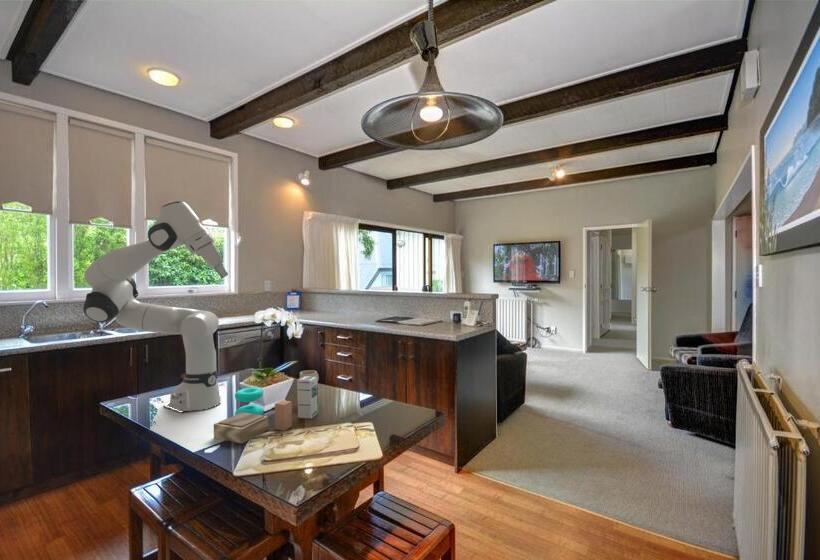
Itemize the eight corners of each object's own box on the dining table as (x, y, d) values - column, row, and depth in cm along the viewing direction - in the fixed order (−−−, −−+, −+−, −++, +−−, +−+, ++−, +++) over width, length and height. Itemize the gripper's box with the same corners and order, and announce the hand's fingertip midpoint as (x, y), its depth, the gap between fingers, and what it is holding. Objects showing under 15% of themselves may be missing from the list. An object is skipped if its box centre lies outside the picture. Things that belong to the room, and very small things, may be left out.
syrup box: (311, 418, 143) (311, 380, 143) (297, 417, 144) (297, 379, 144) (318, 413, 149) (318, 376, 149) (304, 412, 150) (304, 375, 150)
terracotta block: (275, 429, 133) (274, 403, 133) (282, 425, 137) (282, 400, 137) (284, 430, 132) (284, 404, 132) (291, 426, 136) (291, 401, 136)
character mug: (312, 397, 168) (312, 368, 168) (324, 400, 164) (323, 370, 164) (292, 404, 159) (292, 373, 159) (303, 408, 155) (303, 376, 155)
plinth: (213, 438, 126) (213, 423, 126) (241, 425, 137) (241, 411, 137) (242, 443, 122) (242, 427, 122) (268, 429, 133) (268, 415, 133)
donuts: (268, 388, 149) (247, 395, 140) (268, 414, 149) (247, 422, 140) (250, 385, 153) (228, 392, 144) (250, 410, 153) (229, 418, 144)
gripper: (192, 251, 141) (215, 282, 144) (191, 245, 123) (218, 280, 126) (208, 242, 143) (230, 273, 147) (210, 235, 125) (235, 270, 129)
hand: (225, 276), depth 136 cm, fingers open, 8 cm apart
